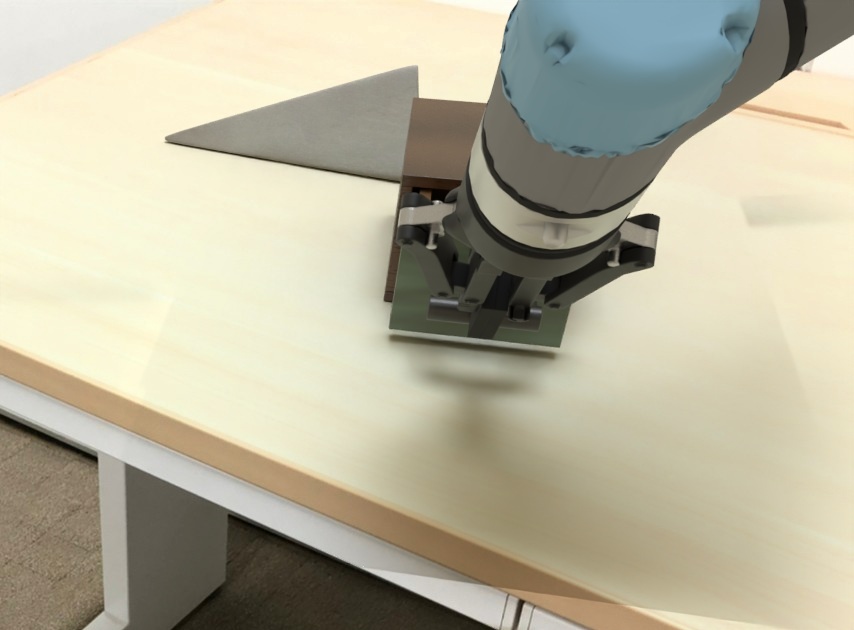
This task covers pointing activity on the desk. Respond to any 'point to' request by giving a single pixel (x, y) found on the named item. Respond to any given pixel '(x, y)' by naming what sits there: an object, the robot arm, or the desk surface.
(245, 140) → the grey triangular wedge
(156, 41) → the desk surface
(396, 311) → the drawer
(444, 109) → the cabinet
